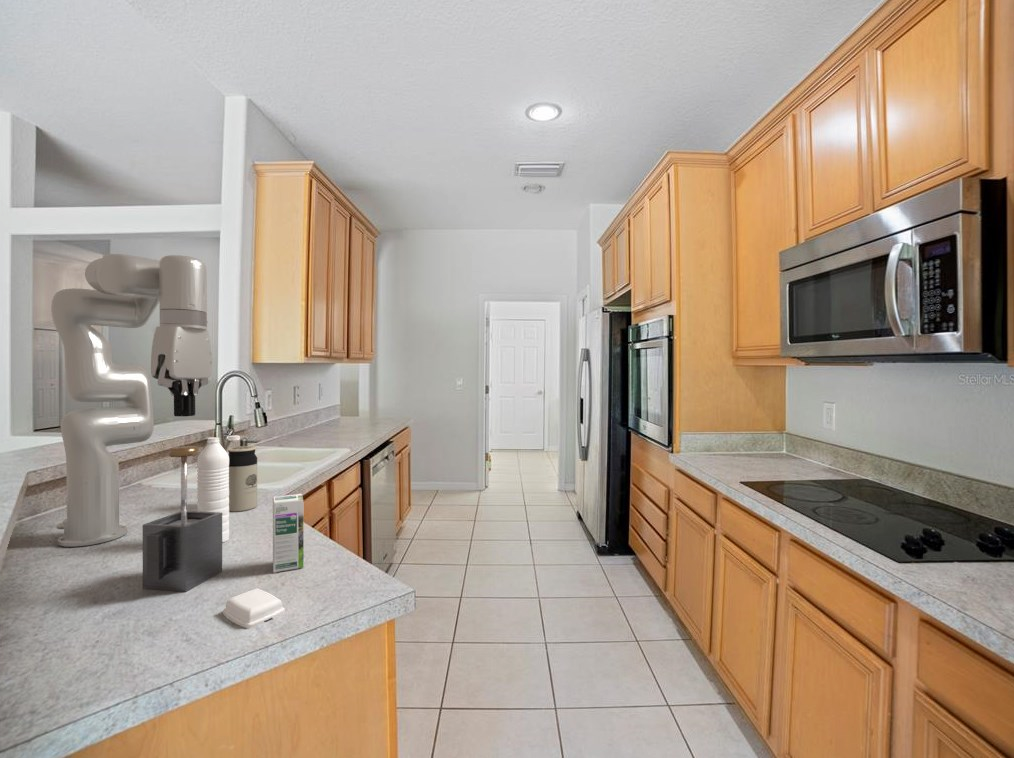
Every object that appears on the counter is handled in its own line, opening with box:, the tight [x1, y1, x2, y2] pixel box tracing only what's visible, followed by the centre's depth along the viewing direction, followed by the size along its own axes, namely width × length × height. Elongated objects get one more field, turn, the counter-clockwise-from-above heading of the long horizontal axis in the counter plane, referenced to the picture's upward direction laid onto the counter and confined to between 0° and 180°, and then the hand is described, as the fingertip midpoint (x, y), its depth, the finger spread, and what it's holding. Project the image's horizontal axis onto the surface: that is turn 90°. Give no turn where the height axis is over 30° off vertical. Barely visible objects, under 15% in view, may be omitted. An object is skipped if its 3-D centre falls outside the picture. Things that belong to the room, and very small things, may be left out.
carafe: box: [142, 510, 223, 593], centre depth 89 cm, size 9×11×12 cm
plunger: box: [167, 445, 199, 526], centre depth 90 cm, size 6×6×16 cm
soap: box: [222, 588, 286, 629], centre depth 78 cm, size 9×7×3 cm
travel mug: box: [227, 445, 258, 513], centre depth 138 cm, size 8×8×18 cm
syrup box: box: [272, 493, 305, 574], centre depth 97 cm, size 6×6×14 cm
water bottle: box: [196, 434, 241, 543], centre depth 111 cm, size 9×6×25 cm
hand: (184, 415), depth 90 cm, fingers closed
